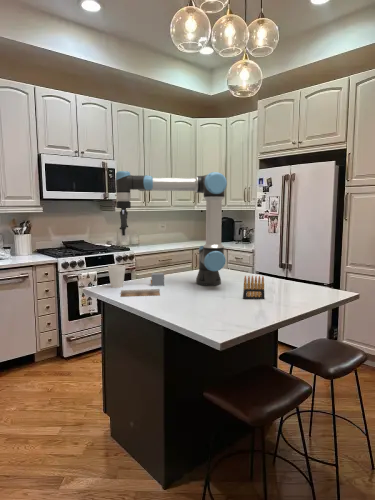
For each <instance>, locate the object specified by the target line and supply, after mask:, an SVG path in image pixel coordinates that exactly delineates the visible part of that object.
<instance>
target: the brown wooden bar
mask: <svg viewBox="0 0 375 500" xmlns="http://www.w3.org/2000/svg"><path fill="white" fill-rule="evenodd" d="M142 293H160V294H161V291H160V288H155V289H154V288H153V289H152V288H151V289H150V288H149V289H148V288H147V289H125V290H124V289H120V295H121V294H142Z"/></svg>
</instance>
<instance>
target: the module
mask: <svg viewBox="0 0 375 500" xmlns="http://www.w3.org/2000/svg"><path fill="white" fill-rule="evenodd" d="M150 284H151V287H161V286H165V273H164V272H152V273H151V279H150Z"/></svg>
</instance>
